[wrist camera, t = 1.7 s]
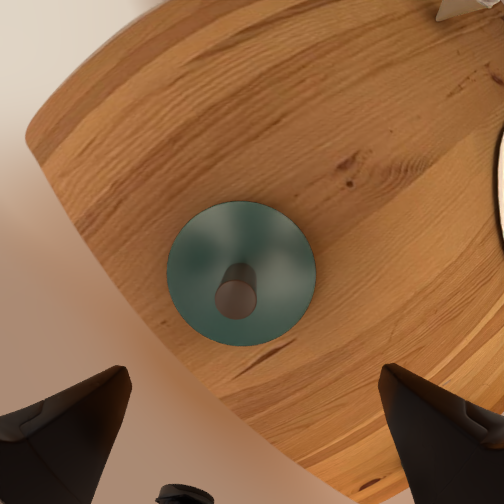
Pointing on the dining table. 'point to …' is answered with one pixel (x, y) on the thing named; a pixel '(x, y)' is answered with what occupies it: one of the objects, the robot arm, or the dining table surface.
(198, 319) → the lid
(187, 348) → the dining table surface
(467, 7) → the ice cream cone
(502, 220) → the plate
